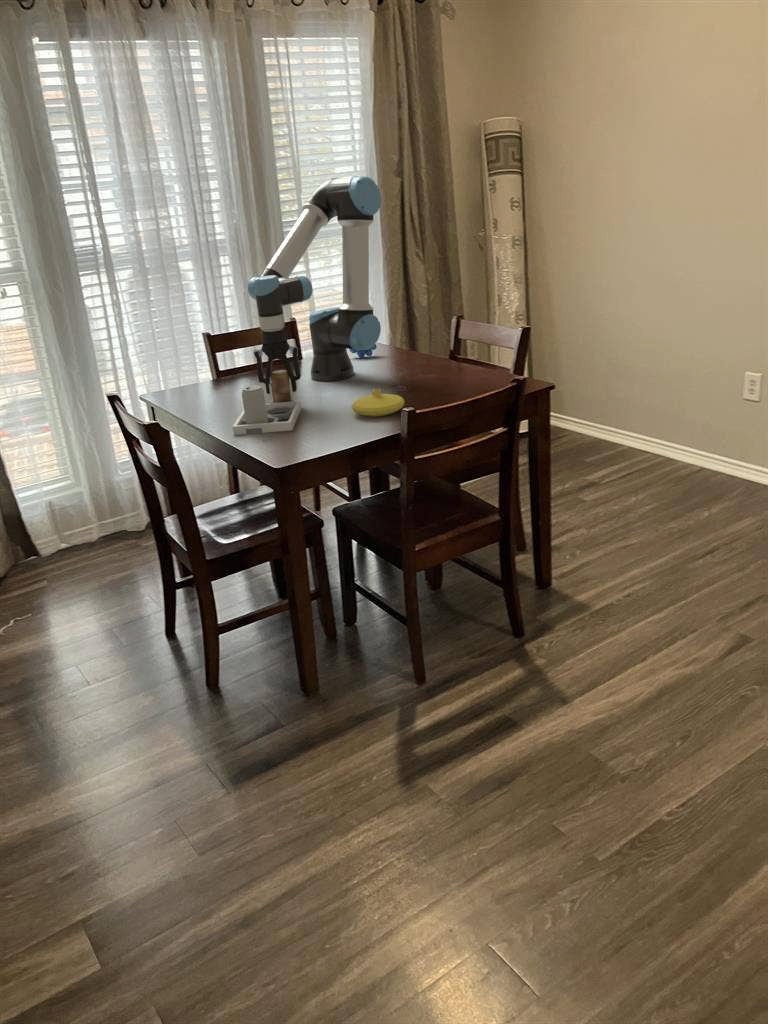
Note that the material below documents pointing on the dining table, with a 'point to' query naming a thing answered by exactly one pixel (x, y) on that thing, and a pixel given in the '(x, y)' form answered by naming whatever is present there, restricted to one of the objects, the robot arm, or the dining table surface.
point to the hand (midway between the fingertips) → (283, 402)
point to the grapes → (363, 351)
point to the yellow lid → (378, 404)
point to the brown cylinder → (280, 386)
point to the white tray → (271, 419)
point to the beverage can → (254, 405)
